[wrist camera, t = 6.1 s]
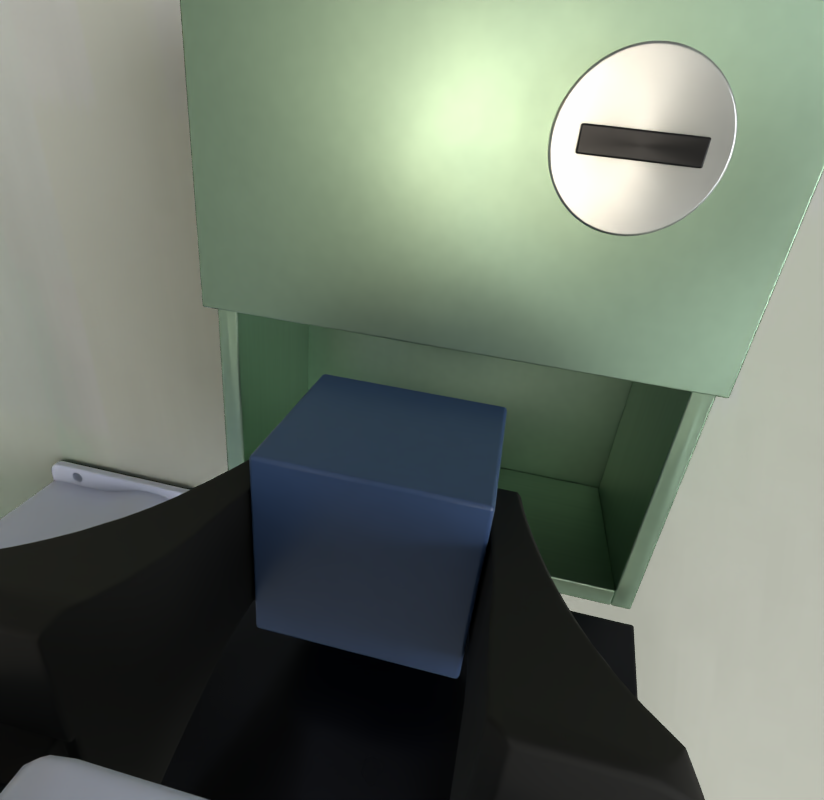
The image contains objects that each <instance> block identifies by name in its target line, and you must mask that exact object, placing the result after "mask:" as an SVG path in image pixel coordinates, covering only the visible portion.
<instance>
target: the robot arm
mask: <svg viewBox="0 0 824 800" xmlns="http://www.w3.org/2000/svg"><path fill="white" fill-rule="evenodd" d="M52 474H53V479H54V481H53V482H51V483H50V484H49V485H47V486H46V487H44V488H43V489H42V490H40V491H39V492H37V493H36V494H35V495H33V496H32V497H30V498H29V499H28V500H26V501H25V502H24V503H22V504H21V505H19V506H18V507H17V508H15V509H14V510H12V511H11V512H10V513H8V514H7V515H5V516H4V517H3V518H1V519H0V800H208V799H205V798H202V797H199V796H195V795H192V794H189V793H186V792H183V791H179V790H176V789H173V788H170V787H166V786H163V785H160V784H161V782H162V779H163V777H164V775H165V772H166V770H167V768H168V766H169V764H170V761H171V759H172V757H173V755H174V753H175V750H176V748H177V746H178V744H179V742H180V739H181V737H182V735H183V733H184V731H185V728H186V726H187V724H188V722H189V720H190V718H191V716H192V713H193V711H194V709H195V707H196V705H197V703H198V701H199V699H200V697H201V695H202V693H203V691H204V689H205V687H206V684H207V682H208V680H209V678H210V676H211V674H212V672H213V670H214V668H215V666H216V665H217V663H218V661H219V659H220V657H221V655H222V653H223V651H224V649H225V647H226V645H227V643H228V641H229V639H230V638H231V636H232V634H233V632H234V631H235V629H236V627H237V626H238V624H239V622H240V621H241V619H242V618H243V616H244V615H245V613H246V612H247V610H248V608H249V607H250V605H251V604H252V602H253V601H254V599H255V580H254V557H253V534H252V511H251V488H250V466H249V460H247V461H245V462H244V463H242V464H240V465H238V466H236V467H234V468H232V469H231V470H229V471H227V472H225V473H223V474H221V475H219V476H218V477H216V478H214V479H212V480H210V481H208V482H206V483H203V484H201V485H199V486H197V487H195V488H193V489H191V490H189V489H184V488H180V487H175V486H171V485H167V484H162V483H158V482H153V481H149V480H144V479H140V478H136V477H131V476H127V475H122V474H118V473H113V472H109V471H105V470H100V469H96V468H91V467H87V466H83V465H78V464H74V463H69V462H65V461H59V462H57V463H55V464H54V465H53V466H52ZM450 800H705V799H704V796H703V793H702V790H701V788H700V785H699V782H698V779H697V777H696V774H695V771H694V769H693V766H692V763H691V760H690V758H689V755H688V753H687V750H686V748H685V747H684V746H683V745H682V744H681V743H680V742H679V741H678V740H677V739H676V738H675V737H674V736H673V735H672V734H671V733H670V732H669V731H668V730H667V729H666V728H665V727H664V726H663V725H662V724H661V723H660V722H659V721H658V720H657V719H656V718H655V717H654V716H653V715H652V714H651V713H650V712H649V711H648V710H647V709H646V708H645V707H644V706H643V705H642V704H641V703H640V702H639V700H638V699H637V698H636V697H635V696H634V695H633V694H632V693H631V691H630V690H629V689H628V688H627V687H626V686H625V685H624V684H623V682H622V681H621V680H620V679H619V678H618V677H617V676H616V674H615V673H614V672H613V670H612V669H611V668H610V667H609V665H608V664H607V663H606V661H605V660H604V659H603V658H602V656H601V655H600V654H599V652H598V651H597V650H596V649H595V647H594V646H593V645H592V643H591V642H590V640H589V639H588V638H587V636H586V635H585V633H584V632H583V630H582V629H581V627H580V626H579V624H578V623H577V621H576V620H575V618H574V616H573V615H572V613H571V612H570V610H569V608H568V607H567V605H566V603H565V602H564V600H563V598H562V596H561V595H560V593H559V591H558V589H557V587H556V585H555V583H554V582H553V580H552V578H551V576H550V574H549V572H548V570H547V568H546V565H545V563H544V561H543V559H542V557H541V554H540V552H539V550H538V547H537V545H536V543H535V540H534V538H533V535H532V533H531V530H530V527H529V524H528V521H527V518H526V515H525V512H524V508H523V504H522V500H521V497H520V495H519V494H518V492H514V491H509V490H504V489H500V488H498V489H497V497H496V506H495V512H494V517H493V521H492V526H491V531H490V535H489V540H488V545H487V549H486V554H485V559H484V563H483V568H482V573H481V577H480V582H479V587H478V591H477V596H476V601H475V605H474V610H473V615H472V619H471V624H470V629H469V636H468V655H467V674H466V688H465V699H464V707H463V714H462V721H461V727H460V734H459V741H458V748H457V755H456V761H455V768H454V775H453V781H452V788H451V795H450Z"/></svg>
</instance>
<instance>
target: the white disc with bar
mask: <svg viewBox="0 0 824 800" xmlns="http://www.w3.org/2000/svg"><path fill="white" fill-rule="evenodd" d="M737 129H738V115H737V107H736V102H735V98H734V94H733V91H732V89H731V87H730V84H729V82H728V80H727V78H726V77H725V75H724V74H723V72H722V71H721V69H720V68H719V67H718V66H717V65H716V64H715V63H714V62H713V61H712V60H711V59H710V58H709V57H707V56H706V55H705V54H703V53H702V52H700V51H698V50H696V49H694V48H693V47H690V46H687V45H684V44H681V43H677V42H671V41H646V42H640V43H636V44H632V45H629V46H626V47H623V48H621V49H618V50H616V51H614V52H612V53H610V54H609V55H607V56H605V57H603V58H602V59H600V60H599V61H598V62H596V63H595V64H594V65H592V66H591V67H590V68H589V69H588V70H587V71H586V72H585V73H584V74H583V75H581V76H580V78H579V79H578V80H577V81H576V82H575V84H574V85H573V86H572V87H571V89H570V90H569V91H568V93H567V94H566V96H565V97H564V99H563V100H562V102H561V104H560V106H559V108H558V110H557V112H556V114H555V117H554V120H553V122H552V126H551V130H550V133H549V140H548V154H547V158H548V167H549V172H550V176H551V180H552V184H553V186H554V189H555V191H556V193H557V195H558V197H559V199H560V201H561V202H562V204H563V205H564V206H565V208H566V209H567V210H568V211H569V212H570V213H571V214H572V215H573V216H574V217H575V218H576V219H577V220H579V221H580V222H581V223H583V224H584V225H586V226H588V227H590V228H592V229H594V230H596V231H599V232H602V233H605V234H610V235H615V236H638V235H644V234H649V233H653V232H656V231H659V230H662V229H664V228H667V227H669V226H671V225H673V224H675V223H677V222H678V221H680V220H682V219H683V218H685V217H686V216H688V215H689V214H690V213H692V212H693V211H694V210H695V209H696V208H698V207H699V206H700V205H701V204H702V203H703V202H704V201H705V200H706V199H707V198H708V196H709V195H710V194H711V193H712V192H713V190H714V189H715V188H716V186H717V185H718V183H719V182H720V180H721V179H722V177H723V175H724V173H725V171H726V169H727V167H728V165H729V162H730V160H731V157H732V154H733V151H734V147H735V143H736V137H737Z"/></svg>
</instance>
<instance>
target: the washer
mask: <svg viewBox="0 0 824 800" xmlns="http://www.w3.org/2000/svg"><path fill="white" fill-rule="evenodd" d="M180 8H181V21H182V35H183V48H184V61H185V75H186V88H187V101H188V115H189V128H190V141H191V155H192V168H193V181H194V195H195V208H196V221H197V235H198V248H199V261H200V275H201V288H202V301H203V306H204V307H210V308H215V309H218V316H219V332H220V348H221V365H222V381H223V397H224V413H225V429H226V445H227V461H228V471H229V470H231V469H232V468H234V467H236V466H238V465H240V464H242V463H244V462H245V461H247V460H249V458H250V456H251V454H252V453H253V452H254V451H255V450H256V449H257V448H258V446H259V445H260V444H261V443H262V442H263V441H264V440H265V439H266V437H267V436H268V435H269V434H270V433H271V432H272V431H273V430H274V429H275V427H276V426H277V425H278V424H279V423H280V422H281V421H282V420H283V419H284V417H285V416H286V415H287V414H288V413H289V412H290V411H291V410H292V408H293V407H294V406H295V405H296V404H297V403H298V402H299V401H300V400H301V398H302V397H303V396H304V395H305V394H306V393H307V392H308V391H309V390H310V388H311V387H312V386H313V385H314V384H315V383H316V382H317V381H318V379H319V378H320V377H321V376H322V375H324V374H328V375H333V376H339V377H344V378H350V379H355V380H360V381H366V382H371V383H377V384H382V385H387V386H393V387H398V388H404V389H409V390H414V391H420V392H425V393H431V394H436V395H441V396H447V397H452V398H458V399H463V400H469V401H474V402H479V403H485V404H490V405H496V406H501V407H505V408H506V410H507V415H506V423H505V431H504V440H503V448H502V456H501V464H500V473H499V481H498V488H500V489H504V490H509V491H514V492H518V494H519V495H520V497H521V500H522V504H523V508H524V512H525V515H526V518H527V521H528V524H529V527H530V530H531V533H532V535H533V538H534V540H535V543H536V545H537V547H538V550H539V552H540V554H541V557H542V559H543V561H544V563H545V565H546V568H547V570H548V572H549V574H550V576H551V578H552V580H553V582H554V583H555V585H556V587H557V589H558V591H559V593H561V594H565V595H570V596H574V597H578V598H583V599H587V600H591V601H596V602H600V603H604V604H610V603H611V605H614V606H618V607H622V608H627V609H630V608H631V606H632V603H633V601H634V598H635V596H636V593H637V591H638V588H639V586H640V583H641V581H642V578H643V576H644V573H645V571H646V568H647V566H648V563H649V561H650V558H651V556H652V553H653V551H654V548H655V546H656V543H657V541H658V539H659V536H660V534H661V531H662V529H663V526H664V524H665V521H666V519H667V516H668V514H669V511H670V509H671V506H672V504H673V501H674V499H675V496H676V494H677V491H678V489H679V486H680V484H681V481H682V479H683V476H684V474H685V472H686V469H687V467H688V464H689V462H690V459H691V457H692V454H693V452H694V449H695V447H696V444H697V442H698V439H699V437H700V434H701V432H702V429H703V427H704V424H705V422H706V419H707V417H708V414H709V412H710V409H711V407H712V405H713V402H714V400H715V397H716V396H718V397H724V398H729V396H730V394H731V391H732V389H733V387H734V384H735V382H736V379H737V377H738V375H739V372H740V370H741V367H742V365H743V363H744V360H745V358H746V355H747V353H748V350H749V348H750V346H751V343H752V341H753V338H754V336H755V334H756V331H757V329H758V326H759V324H760V322H761V319H762V317H763V314H764V312H765V310H766V307H767V305H768V302H769V300H770V298H771V295H772V293H773V290H774V288H775V286H776V283H777V281H778V278H779V276H780V274H781V271H782V269H783V266H784V264H785V262H786V259H787V257H788V254H789V252H790V250H791V247H792V245H793V242H794V240H795V237H796V235H797V233H798V230H799V228H800V225H801V223H802V221H803V218H804V216H805V213H806V211H807V209H808V206H809V204H810V201H811V199H812V197H813V194H814V192H815V189H816V187H817V185H818V182H819V180H820V177H821V175H822V173H823V170H824V0H180ZM646 41H671V42H677V43H681V44H684V45H687V46H690V47H693V48H694V49H696V50H698V51H700V52H702V53H703V54H705V55H706V56H707V57H709V58H710V59H711V60H712V61H713V62H714V63H715V64H716V65H717V66H718V67H719V68H720V69H721V71H722V72H723V74H724V75H725V77H726V78H727V80H728V82H729V84H730V87H731V89H732V91H733V94H734V98H735V102H736V107H737V115H738V129H737V137H736V143H735V147H734V151H733V154H732V157H731V160H730V162H729V165H728V167H727V169H726V171H725V173H724V175H723V177H722V179H721V180H720V182H719V183H718V185H717V186H716V188H715V189H714V190H713V192H712V193H711V194H710V195H709V196H708V198H707V199H706V200H705V201H704V202H703V203H702V204H701V205H700V206H699V207H698V208H696V209H695V210H694V211H693V212H692V213H690V214H689V215H688V216H686V217H685V218H683V219H682V220H680V221H678V222H677V223H675V224H673V225H671V226H669V227H667V228H664V229H662V230H659V231H656V232H653V233H649V234H644V235H638V236H615V235H610V234H605V233H602V232H599V231H596V230H594V229H592V228H590V227H588V226H586V225H584V224H583V223H581V222H580V221H579V220H577V219H576V218H575V217H574V216H573V215H572V214H571V213H570V212H569V211H568V210H567V209H566V208H565V206H564V205H563V204H562V202H561V201H560V199H559V197H558V195H557V193H556V191H555V189H554V186H553V184H552V180H551V176H550V172H549V167H548V158H547V154H548V140H549V133H550V130H551V126H552V122H553V120H554V117H555V114H556V112H557V110H558V108H559V106H560V104H561V102H562V100H563V99H564V97H565V96H566V94H567V93H568V91H569V90H570V89H571V87H572V86H573V85H574V84H575V82H576V81H577V80H578V79H579V78H580V76H581V75H583V74H584V73H585V72H586V71H587V70H588V69H589V68H590V67H591V66H592V65H594V64H595V63H596V62H598V61H599V60H600V59H602V58H603V57H605V56H607V55H609V54H610V53H612V52H614V51H616V50H618V49H621V48H623V47H626V46H629V45H632V44H636V43H640V42H646Z"/></svg>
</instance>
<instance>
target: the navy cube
mask: <svg viewBox="0 0 824 800" xmlns="http://www.w3.org/2000/svg"><path fill="white" fill-rule="evenodd" d="M506 415H507V410H506V408H505V407H501V406H496V405H490V404H485V403H479V402H474V401H469V400H463V399H458V398H452V397H447V396H441V395H436V394H431V393H425V392H420V391H414V390H409V389H404V388H398V387H393V386H387V385H382V384H377V383H371V382H366V381H360V380H355V379H350V378H344V377H339V376H333V375H328V374H324V375H322V376H321V377H320V378H319V379H318V381H317V382H316V383H315V384H314V385H313V386H312V387H311V388H310V390H309V391H308V392H307V393H306V394H305V395H304V396H303V397H302V398H301V400H300V401H299V402H298V403H297V404H296V405H295V406H294V407H293V408H292V410H291V411H290V412H289V413H288V414H287V415H286V416H285V417H284V419H283V420H282V421H281V422H280V423H279V424H278V425H277V426H276V427H275V429H274V430H273V431H272V432H271V433H270V434H269V435H268V436H267V437H266V439H265V440H264V441H263V442H262V443H261V444H260V445H259V446H258V448H257V449H256V450H255V451H254V452H253V453H252V454H251V456H250V458H249V466H250V488H251V511H252V534H253V557H254V580H255V603H256V625H257V627H258V628H261V629H265V630H268V631H272V632H276V633H280V634H284V635H288V636H292V637H296V638H300V639H303V640H307V641H311V642H315V643H319V644H323V645H327V646H331V647H334V648H338V649H342V650H346V651H350V652H354V653H358V654H362V655H365V656H369V657H373V658H377V659H381V660H385V661H389V662H393V663H396V664H400V665H404V666H408V667H412V668H416V669H420V670H424V671H427V672H431V673H435V674H439V675H443V676H447V677H451V678H458V676H459V675H460V671H461V666H462V661H463V657H464V652H465V647H466V643H467V638H468V633H469V629H470V624H471V619H472V615H473V610H474V605H475V601H476V596H477V591H478V587H479V582H480V577H481V573H482V568H483V563H484V559H485V554H486V549H487V545H488V540H489V535H490V531H491V526H492V521H493V517H494V512H495V506H496V497H497V489H498V481H499V473H500V464H501V456H502V448H503V440H504V431H505V423H506Z"/></svg>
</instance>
